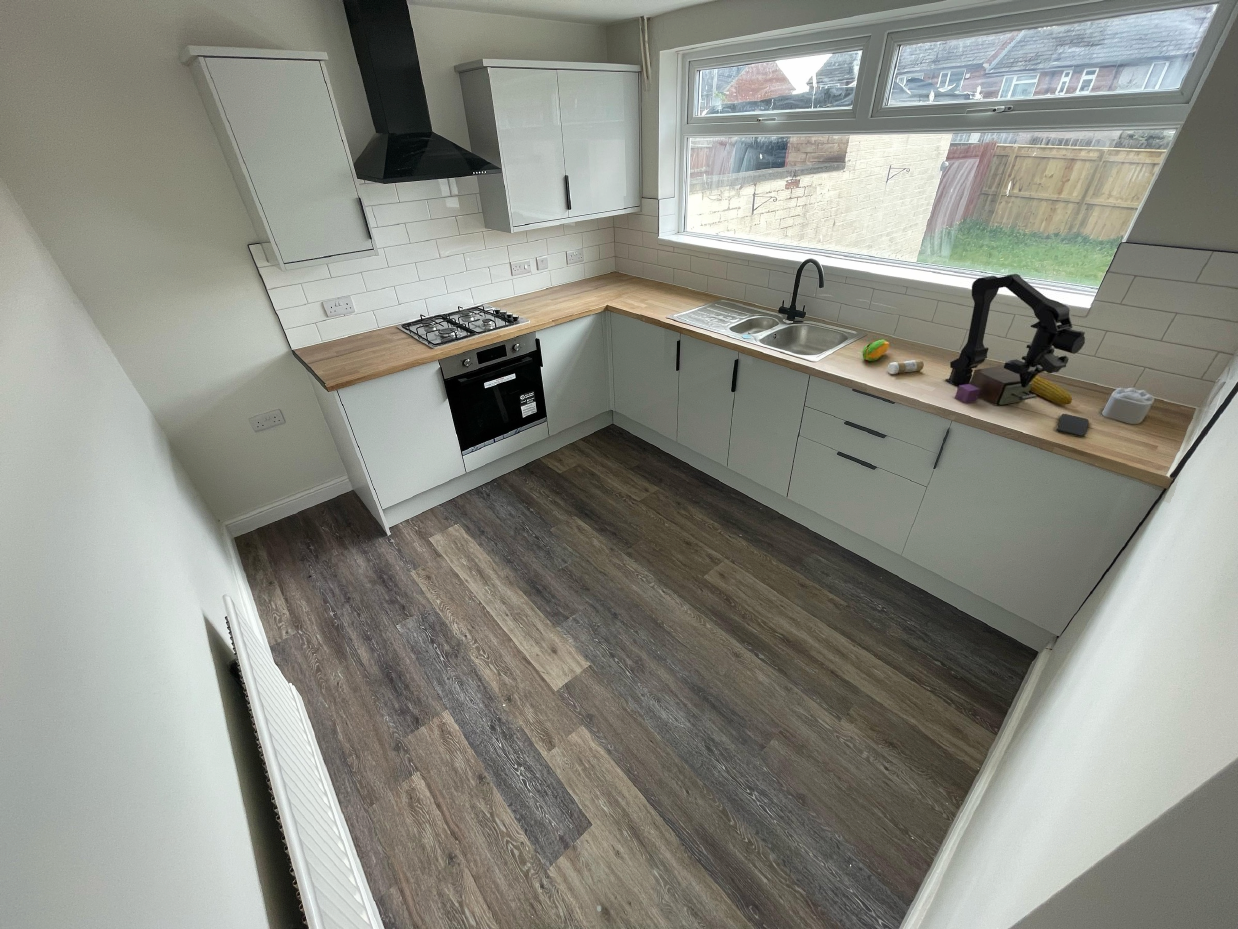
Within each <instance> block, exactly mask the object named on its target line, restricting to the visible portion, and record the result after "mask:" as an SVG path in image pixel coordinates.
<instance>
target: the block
mask: <svg viewBox="0 0 1238 929" xmlns="http://www.w3.org/2000/svg"><path fill="white" fill-rule="evenodd" d="M979 391H980V389H979V388H977V387H975V386H973V385H971V384H966V385H960V386H959V387H958V386H957V390H956V393H955V396H954V398H955V399H957V400H959V401H960V402H962V403H965V404H967V403H973V402H977V399H978V398H979V397H978V394H979Z"/></svg>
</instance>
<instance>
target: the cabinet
mask: <svg viewBox="0 0 1238 929" xmlns="http://www.w3.org/2000/svg"><path fill="white" fill-rule="evenodd" d="M1019 382H1021V381H1020V376H1019V374H1017V373H1014V372H1012V371H1009V370H1007V369H1005V368H1004V366H1001V365H995V366H991V367H984V368H979V369H978V368H977V369H973V372H972V377H971V380H970V384H971V385H973V386H975V387H977V388H979V389H980V391H979V394H978V397H977V398H980V399H982V400H984V401H986V402H988V403H990V404H992V405H994V406H999V405H1001V404H999V402H1000V400H999V399H1000V397H1001V394H1002V392H1003V389H1004V387H1005V385H1007V384H1013V383H1019Z"/></svg>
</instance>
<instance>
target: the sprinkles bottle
mask: <svg viewBox="0 0 1238 929" xmlns="http://www.w3.org/2000/svg"><path fill="white" fill-rule="evenodd" d="M924 366H925V364H924V361H923V360H922V359H916V360H907V361H899V362H898V361H897V362H896V361H895V362H890V363H889V364H888V366H887V371H888V373H889V374H890V375H897V374H903V373H911V372H912V373H913V372H920V371H922V370H923V369H924Z"/></svg>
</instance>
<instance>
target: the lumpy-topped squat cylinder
mask: <svg viewBox="0 0 1238 929" xmlns="http://www.w3.org/2000/svg"><path fill="white" fill-rule="evenodd" d="M1154 401H1155V397H1154V395H1152V394H1150V393H1148V392H1147V390H1146V389H1137V388H1135V387H1134V386H1133V387H1128V388H1124V387H1118V388H1116V389H1115V390H1114V391H1113V392H1112V393H1111V395H1110V397H1109V399H1108V401H1107V403H1106V404H1105V406H1104V408H1103V410H1102V412H1101V414H1102V415H1103V416H1104V417H1105V418H1108V419H1111V420H1116V421H1120V422H1122V423H1126V424H1129V425H1130V424H1131V425H1137V424H1138V425H1139V424H1141V423H1142V422H1143V420H1144V419H1145V417H1146V416H1147V414H1148V412H1149V410H1150V409H1151V406H1152V405H1153V403H1154Z"/></svg>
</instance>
